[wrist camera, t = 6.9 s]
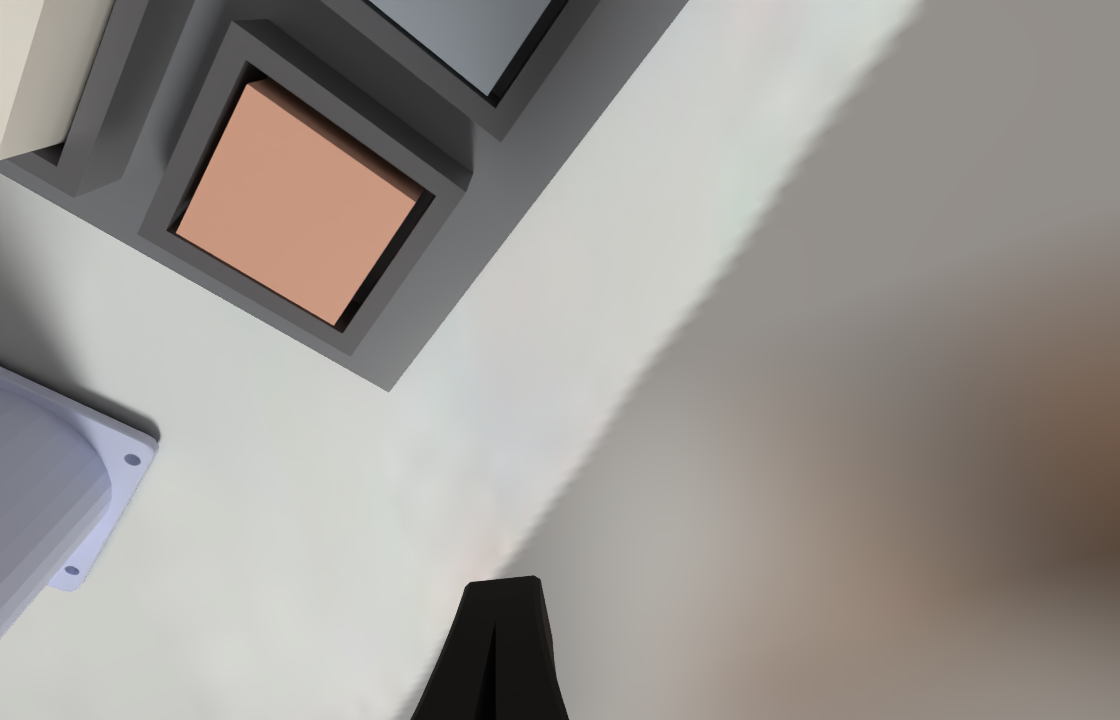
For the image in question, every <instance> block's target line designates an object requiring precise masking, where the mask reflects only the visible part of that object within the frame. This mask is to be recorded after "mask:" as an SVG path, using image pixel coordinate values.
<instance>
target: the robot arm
mask: <svg viewBox="0 0 1120 720" xmlns="http://www.w3.org/2000/svg"><path fill="white" fill-rule="evenodd" d="M158 449H159V446H158V443H157V442H156V440H155V439H154V438H152V437H151V436H149V435H147V434H145V433H143V432H141V431H139V430H136V429H134V428H132V427H130V426H128V425H126V424H123V423H121V422H119V421H117V420H115V419H113V418H111V417H108V416H106V415H104V414H102V413H100V412H98V411H95V410H93V409H91V408H89V407H87V406H85V405H82V404H80V403H78V402H76V401H74V400H72V399H70V398H67V397H65V396H63V395H61V394H59V393H57V392H54V391H52V390H50V389H48V388H46V387H44V386H41V385H39V384H37V383H35V382H33V381H31V380H28V379H26V378H24V377H22V376H20V375H18V374H16V373H13V372H11V371H9V370H7V369H5V368H3V367H0V639H1V638H2V637H3V635H4V634H5V633H6V632H7V631H8V629H9V628H10V627H11V626H12V625H13V624H14V622H15V621H16V620H17V619H18V618H19V617H20V615H21V614H22V613H23V612H24V611H25V609H26V608H27V607H28V606H29V605H30V604H31V602H32V601H33V600H34V599H35V598H36V597H37V595H38V594H39V593H40V592H41V591H42V590H43V588H44V587H45V586H46V585H48V586H51V587H54V588H56V589H59V590H62V591H67V592H71V591H75V590H77V589H78V588H79V587H80V586H81V585H82V583H83V582H84V581H85V579H86V577H87V575H88V573H89V572H90V570H91V568H92V566H93V565H94V563H95V561H96V559H97V558H98V556H99V554H100V552H101V551H102V549H103V547H104V545H105V544H106V542H107V540H108V538H109V537H110V535H111V533H112V531H113V529H114V528H115V526H116V524H117V522H118V521H119V519H120V517H121V515H122V514H123V512H124V510H125V508H126V507H127V505H128V503H129V501H130V500H131V498H132V496H133V494H134V493H135V491H136V489H137V487H138V485H139V484H140V482H141V480H142V478H143V477H144V475H145V473H146V471H147V470H148V468H149V466H150V464H151V463H152V461H153V459H154V457H155V456H156V454H157V452H158ZM134 455H136V456H137V457H136V456H134ZM138 457H139V458H138ZM411 720H569V718H568V715H567V712H566V708H565V705H564V702H563V699H562V696H561V692H560V688H559V685H558V681H557V678H556V671H555V663H554V652H553V641H552V634H551V629H550V624H549V619H548V614H547V609H546V604H545V599H544V594H543V589H542V585H541V580H540V579H539V578H537V577H536V576H534V575H533V576H524V577H515V578H505V579H496V580H486V581H477V582H470V583H469V584H468V585H467V586H466V587H465V589H464V592H463V595H462V598H461V601H460V604H459V607H458V610H457V613H456V616H455V618H454V621H453V624H452V626H451V629H450V631H449V634H448V637H447V639H446V641H445V644H444V646H443V649H442V651H441V654H440V656H439V659H438V661H437V663H436V665H435V668H434V670H433V672H432V674H431V677H430V679H429V681H428V683H427V686H426V688H425V690H424V692H423V695H422V697H421V699H420V701H419V703H418V706H417V708H416V710H415V712H414V714H413V716H412V718H411Z"/></svg>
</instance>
